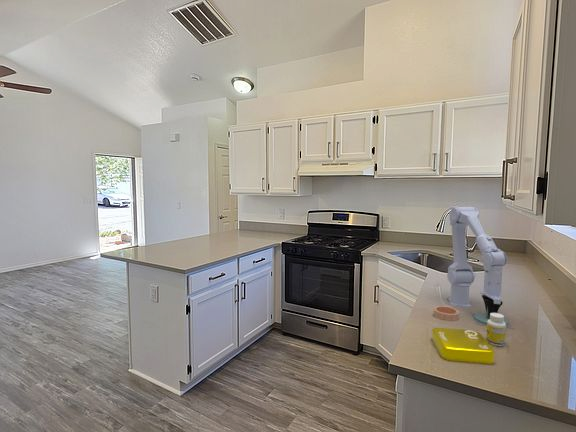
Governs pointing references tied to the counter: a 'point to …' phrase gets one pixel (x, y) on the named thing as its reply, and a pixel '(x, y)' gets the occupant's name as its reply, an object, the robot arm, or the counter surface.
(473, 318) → the mat
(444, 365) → the counter surface
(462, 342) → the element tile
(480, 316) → the lid
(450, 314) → the bowl
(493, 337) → the supplement bottle
